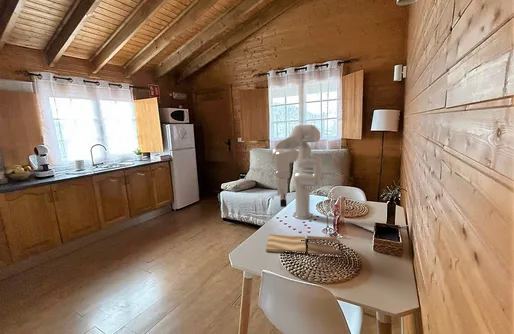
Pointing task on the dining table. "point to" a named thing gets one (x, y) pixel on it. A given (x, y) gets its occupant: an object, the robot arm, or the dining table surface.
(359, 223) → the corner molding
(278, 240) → the oak plank
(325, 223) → the dining table surface
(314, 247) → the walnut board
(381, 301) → the dining table surface
